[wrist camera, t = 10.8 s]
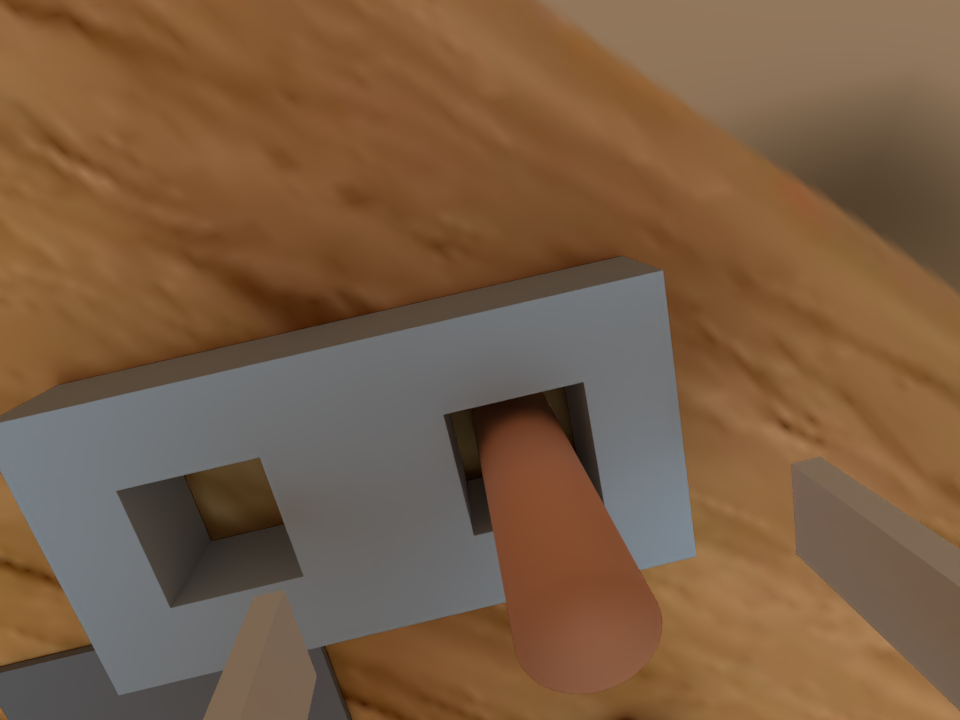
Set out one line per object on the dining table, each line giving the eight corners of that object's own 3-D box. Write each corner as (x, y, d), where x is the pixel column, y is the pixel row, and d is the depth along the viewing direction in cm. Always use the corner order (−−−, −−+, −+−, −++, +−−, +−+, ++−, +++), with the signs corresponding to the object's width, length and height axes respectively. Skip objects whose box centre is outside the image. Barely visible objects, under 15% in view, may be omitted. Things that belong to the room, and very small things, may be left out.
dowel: (481, 460, 24) (528, 708, 13) (465, 390, 23) (500, 589, 12) (555, 443, 24) (669, 674, 13) (542, 373, 23) (653, 554, 12)
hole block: (166, 617, 25) (118, 695, 21) (57, 385, 22) (-23, 427, 18) (655, 500, 25) (696, 556, 22) (622, 255, 22) (663, 270, 18)
